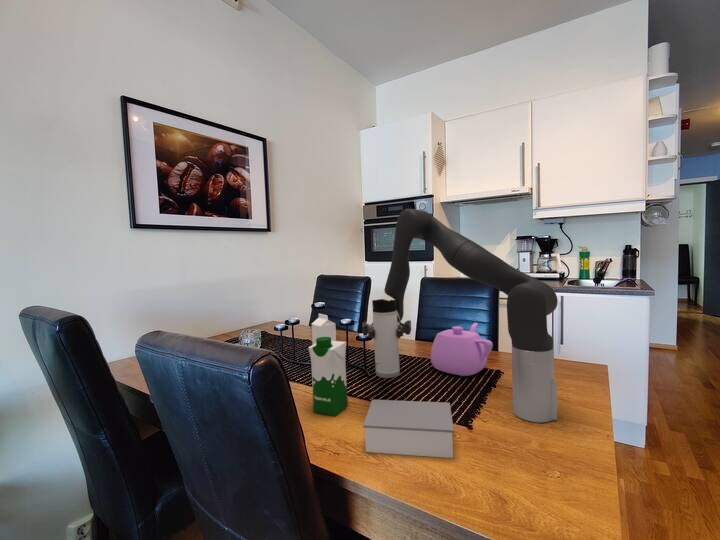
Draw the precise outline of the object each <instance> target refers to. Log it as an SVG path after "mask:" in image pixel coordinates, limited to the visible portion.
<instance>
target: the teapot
mask: <svg viewBox="0 0 720 540" xmlns="http://www.w3.org/2000/svg"><path fill="white" fill-rule="evenodd" d="M478 324H479V323H478V322H474V323H473V324H472V325H471V326H470V328H469V330H464V327H462V326H458V325H457V326H456V325H455V326H452V327H451V328H450V329H446V330H442V331H440V332H437V334H436V336H435V338H434V340H433V343H432V347H431V350H430V363H431V365H432V366H433V367H434V369H436V370H439V371H440V372H443V373H447V374H451V375H458V376H459V377H467V376H469V377H470V376H473V375H476V374H478V373H479V372H481V371H482V370H484V368H485V367H486V365H487V362H488V355H489V354H490V353H491V352H492V350H493V348H494V347H493V346H494V344H493V342H492V341H491V340H489V339H485V338H482V337H481V336H480V334H479V333H478V332H477V327H478Z"/></svg>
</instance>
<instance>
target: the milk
mask: <svg viewBox="0 0 720 540" xmlns="http://www.w3.org/2000/svg"><path fill="white" fill-rule="evenodd" d="M336 327H337V326H336V322H333V321H331V320H330V319H329V317H328V315H327V314H323V313H318V317H317V318H316V319H315V320H314V321H313V322H311V338H312V345H314V344H316V339H317V338H320V337H330V338H331V341H337V331H336V330H337V328H336Z"/></svg>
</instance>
